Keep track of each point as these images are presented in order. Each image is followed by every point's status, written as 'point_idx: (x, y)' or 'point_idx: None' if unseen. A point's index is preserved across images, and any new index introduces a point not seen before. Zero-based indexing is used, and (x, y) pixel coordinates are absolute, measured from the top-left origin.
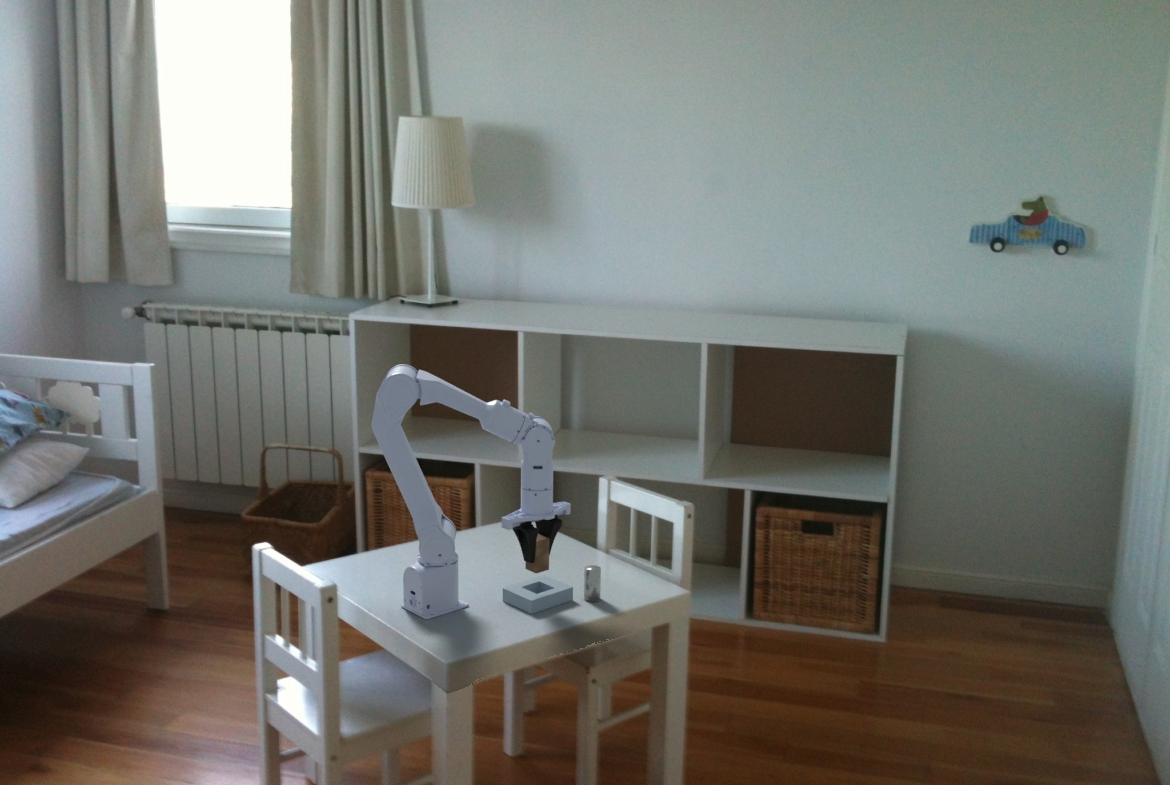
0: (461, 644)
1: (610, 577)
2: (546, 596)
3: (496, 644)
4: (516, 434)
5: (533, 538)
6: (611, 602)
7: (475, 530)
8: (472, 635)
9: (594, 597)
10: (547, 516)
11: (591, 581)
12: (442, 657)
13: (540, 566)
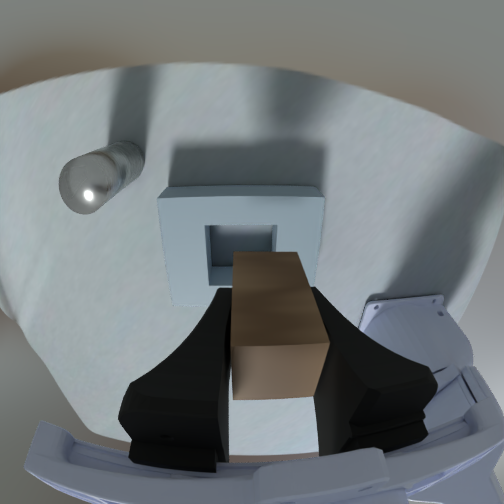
0: (482, 184)
1: (35, 243)
2: (266, 195)
3: (457, 134)
4: None
5: (367, 354)
6: (97, 122)
7: None
8: (454, 197)
9: (126, 143)
10: (383, 479)
11: (113, 157)
12: None
13: (280, 262)
